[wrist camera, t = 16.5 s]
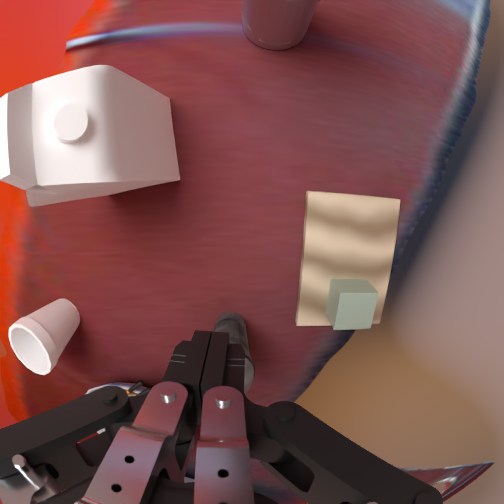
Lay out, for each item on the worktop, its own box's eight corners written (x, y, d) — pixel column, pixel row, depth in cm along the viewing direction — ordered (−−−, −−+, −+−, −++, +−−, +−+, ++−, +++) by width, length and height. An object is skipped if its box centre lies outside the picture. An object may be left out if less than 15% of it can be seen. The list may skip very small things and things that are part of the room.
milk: (99, 119, 36) (-35, 94, 11) (169, 98, 35) (64, 22, 10) (108, 195, 39) (-27, 236, 14) (180, 179, 38) (71, 203, 13)
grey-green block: (330, 278, 41) (340, 292, 36) (365, 279, 41) (378, 292, 36) (325, 313, 42) (333, 330, 38) (359, 312, 42) (370, 328, 38)
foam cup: (68, 341, 46) (35, 379, 34) (41, 303, 44) (2, 335, 32) (95, 324, 45) (60, 366, 33) (66, 282, 43) (22, 315, 30)
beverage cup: (248, 348, 46) (246, 445, 27) (204, 338, 45) (181, 432, 26) (259, 310, 44) (264, 405, 25) (213, 299, 43) (188, 390, 24)
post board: (306, 190, 39) (314, 194, 34) (395, 198, 39) (413, 203, 34) (295, 321, 44) (300, 340, 39) (376, 319, 45) (388, 336, 39)
